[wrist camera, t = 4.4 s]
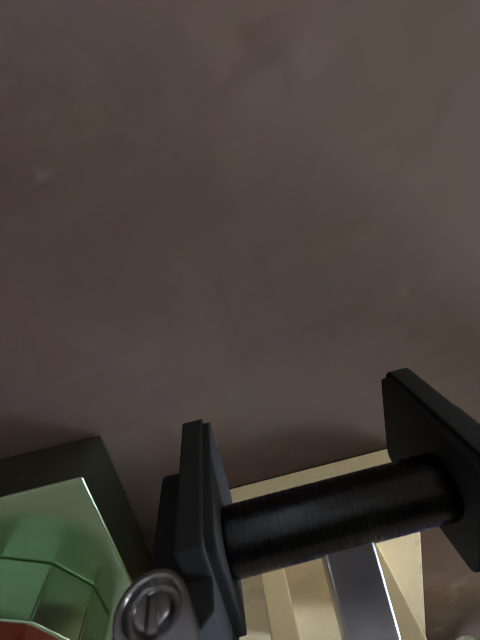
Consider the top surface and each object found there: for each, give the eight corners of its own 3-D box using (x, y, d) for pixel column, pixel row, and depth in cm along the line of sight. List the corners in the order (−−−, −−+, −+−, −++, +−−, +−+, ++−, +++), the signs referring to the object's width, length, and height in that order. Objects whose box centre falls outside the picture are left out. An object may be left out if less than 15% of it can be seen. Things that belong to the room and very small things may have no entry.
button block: (-143, 494, 13) (-286, 616, 9) (100, 434, 13) (60, 528, 9) (-8, 670, 16) (-70, 809, 13) (179, 619, 17) (173, 741, 13)
